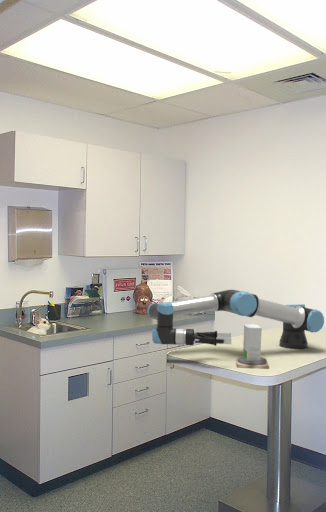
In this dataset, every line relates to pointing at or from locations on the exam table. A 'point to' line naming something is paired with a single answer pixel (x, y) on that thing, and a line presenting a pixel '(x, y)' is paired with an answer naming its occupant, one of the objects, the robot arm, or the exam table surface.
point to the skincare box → (252, 342)
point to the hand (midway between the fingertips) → (231, 338)
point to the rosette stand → (252, 363)
